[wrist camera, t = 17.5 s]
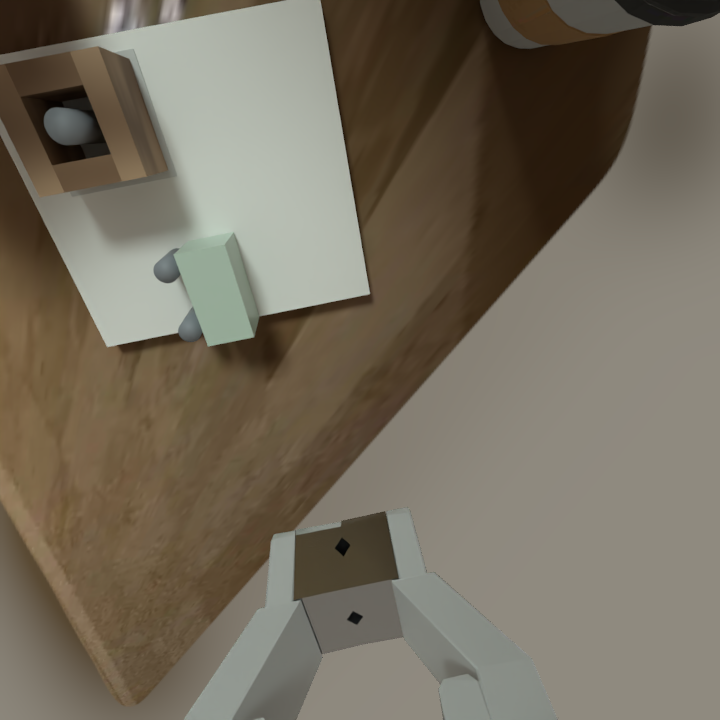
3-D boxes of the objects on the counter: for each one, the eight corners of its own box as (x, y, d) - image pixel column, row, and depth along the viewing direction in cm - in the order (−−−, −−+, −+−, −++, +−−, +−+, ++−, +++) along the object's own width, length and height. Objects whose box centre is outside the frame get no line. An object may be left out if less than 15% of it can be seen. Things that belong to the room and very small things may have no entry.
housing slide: (188, 241, 28) (173, 254, 25) (233, 232, 28) (224, 244, 25) (217, 325, 31) (208, 346, 28) (259, 316, 31) (254, 337, 28)
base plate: (-22, 65, 24) (-109, 47, 19) (318, 0, 24) (321, -35, 19) (113, 339, 32) (77, 378, 27) (367, 288, 32) (379, 318, 27)
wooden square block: (26, 78, 23) (-24, 69, 20) (129, 58, 23) (97, 45, 20) (75, 188, 26) (39, 197, 23) (168, 170, 26) (146, 176, 23)
